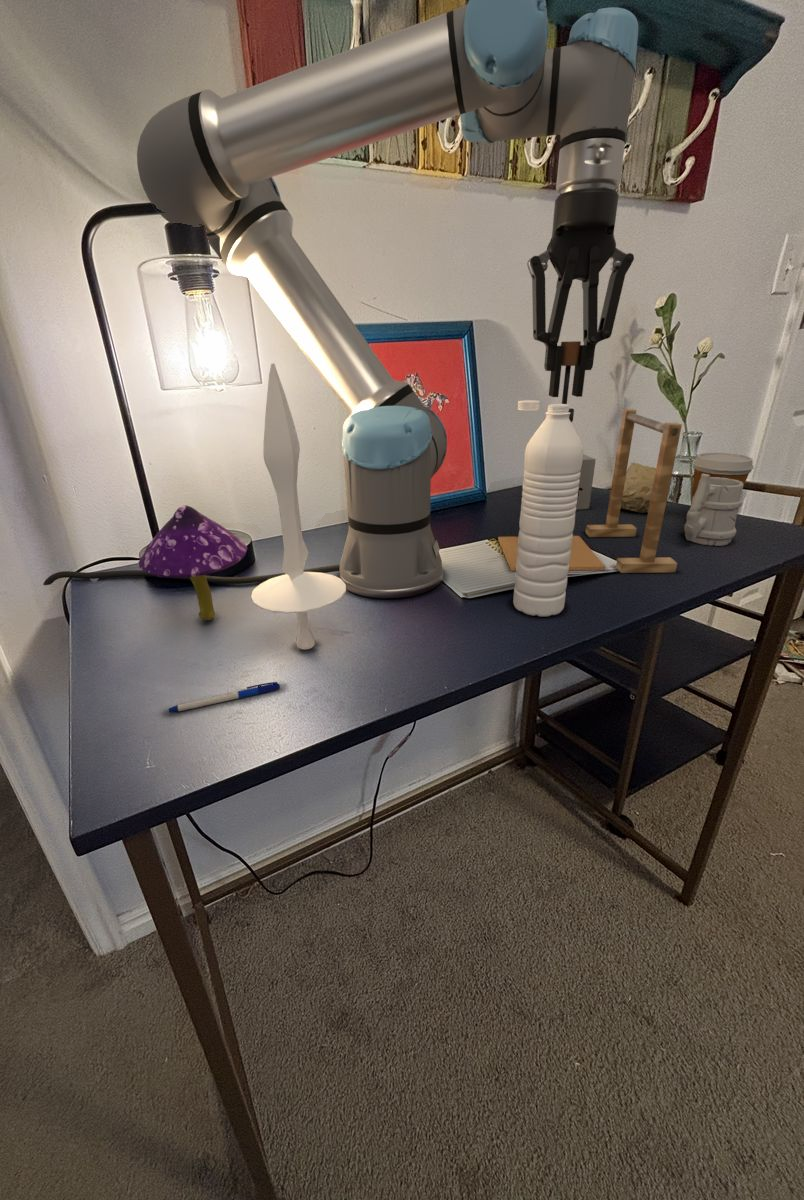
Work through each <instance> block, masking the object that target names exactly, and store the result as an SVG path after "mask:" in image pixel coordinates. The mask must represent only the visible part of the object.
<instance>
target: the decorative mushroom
mask: <svg viewBox="0 0 804 1200" xmlns="http://www.w3.org/2000/svg"><path fill="white" fill-rule="evenodd" d="M247 550H248V546H247V545H246V543H245V542H244V541H243V540H241V539H240V538H239V537H237V536H236V535H235V534H234V533H233V532H231V531H229V530H228V529H227V528H225V527H223V526H222V525H221V524H219V523H218V522H216V521H214V520H213V519H211V518H209V517H208V516H206V515H204V514H202V513H201V512H199V511H198V510H197V509H195V507H193V506H190V505H181V506H179V507H178V508H177V509H176V511H174V513H173V515H172V517H171V518H170V519H169V520H168V521H167V522H166V523H165V524H164V525H163V526H162V528H161V529H160V530H159V531H158V532H157V533H156V534H155V536H154V537H152V539H151V541H150V542H149V543H148V545H147V546H146V548H145V550H144V552H143V554H142V555H141V557H140V558H139V561H138V567H139V568H140V569H141V570H144V571H145V572H147V573H148V574H150V575H154V576H158V577H157V578H163V577H165V578H164V579H173V578H184V577H190V579H191V580H190V581H191V583H192V585H193V586H194V590H195V593H196V597H197V603H198V608H199V612H198V617H199V619H201V620H202V621H211V620H213V619H214V617H215V616H216V615H215V614H216V612H215V608H214V603H213V597H212V592H211V588H210V585H209V582H207V579H206V577H205V575H206V576H207V575H211V574H214V573H217V572H221V571H223V570H226V569H229V568H230V567H233V566H234V565H236V564H238V563H239V562H241V561H242V560H243V559H244V558H245V556H246V554H247Z"/></svg>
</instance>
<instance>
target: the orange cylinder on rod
mask: <svg viewBox="0 0 804 1200" xmlns="http://www.w3.org/2000/svg"><path fill="white" fill-rule="evenodd" d="M581 343H582V342H581V341H579V340H577V341H572V340H571V341H561V342H560V346H564V347H563V356H562V366H561V367H565V369H564V378H563V387H562V399H561V404H567V405H568V397H569V396H568V395H569V388H570V378H571V369H572V367H573V366H574V367H575V366H577V365H578V362H579V354H580V345H582V344H581ZM568 412H570V413H571V414H569V420H570V422H571V423H573V422H574V416H575V409H574V408H569V411H568Z"/></svg>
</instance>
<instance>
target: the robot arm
mask: <svg viewBox="0 0 804 1200" xmlns="http://www.w3.org/2000/svg"><path fill="white" fill-rule="evenodd" d="M549 29H550V27H549V19H548V7H547V1H546V0H468V2H467V4H465V5H463V6H460V7H458V8H455V9H453V10H450V11H447V12H445V13H441V14H440V15H436V16H434V17H431V18H428V19H427V20H424V21H421V22H418V23H415V24H414V25H411V26H407V27H405V28H402V29H400V30H397V31H394V32H392V33H389V34H387V35H384V36H382V37H379V38H376V39H374V40H371V41H368V42H365V43H363V44H360V45H357V46H355V47H353V48H350V49H348V50H345V51H342V52H339V53H337V54H334V55H331V56H329V57H326V58H324V59H321V60H319V61H316V62H313V63H310V64H308V65H305V66H303V67H302V66H301V67H300V68H297V69H295V70H291V71H289V72H286V73H284V74H281V75H279V76H276V77H273V78H270V79H268V80H265V81H263V82H260V83H257V84H255V85H253V86H250V87H247V88H244V89H242V90H239V91H236V92H234V93H230V94H228V95H226V96H223V97H221V96H220V95H218V94H217V93H216V92H214V91H213V90H212V89H209V88H207V89H204V90H201V91H199V92H196V93H194V94H191V95H188V96H185V97H183V98H181V99H179V100H177V101H175V102H172V103H170V104H168V105H166V106H165V107H163V108H161V109H160V110H159V111H157V112H156V114H154V115H152V116H151V118H150V119H149V120H148V121H147V123H146V124H145V126H144V128H143V130H142V132H141V134H140V136H139V140H138V144H137V150H136V163H137V164H136V165H137V172H138V177H139V180H140V182H141V186H142V188H143V191H144V193H145V195H146V197H147V198H148V200H149V202H150V203H151V205H152V204H154V205H155V206H156V208H157V209H159V210H161V211H162V212H165V213H161V214H160V213H159V215H160V216H161V217H162V218H163V219H164V220H166V221H167V222H168V223H170V224H171V223H182V224H187V225H192V226H193V227H200V226H201V225H199V224H202V225H204V226H205V228H206V231H207V236H208V240H209V243H208V244H209V246H210V247H211V248H212V250H213V251H214V252H215V254H216V255H217V256H218V258H219V260H221V259H222V260H221V262H222V263H223V264H224V266H225V267H226V268H227V270H228V271H229V272H230V273H231V274H232V275H235V276H239V277H240V276H241V277H242V276H243V277H245V278H247V279H248V280H249V282H250V283H251V285H252V286H253V287H254V288H255V290H256V291H257V292H258V293H259V296H260V297H261V298H262V300H264V302H265V303H266V305H267V306H268V307H269V309H270V310H271V311H272V313H273V314H274V316H275V317H276V318H277V320H278V321H279V322H280V323H281V326H282V327H284V329H285V330H286V332H287V333H288V334H289V336H290V337H291V339H292V340H294V343H295V344H296V345H297V347H298V348H299V349H300V350H301V352H302V353H303V354H304V356H305V357H306V359H307V360H308V361H309V363H310V364H311V365H312V367H313V368H314V370H315V371H316V372H317V373H318V375H319V376H320V378H321V379H322V380H323V381H324V383H325V384H326V386H327V387H328V389H329V390H330V391H331V392H332V394H333V395H334V397H335V398H336V399H337V401H338V402H339V403H340V405H341V406H342V408H343V409H344V411H345V412H346V413H347V414H348V417H347V418H346V419H345V420H344V422H343V425H342V438H341V450H342V453H343V466H344V467H343V469H344V479H345V490H346V491H345V495H346V506H347V519H348V520H347V522H348V530H347V535H346V539H345V543H344V547H343V551H342V555H341V557H340V558H341V559H340V562H339V564H332V565H325V566H319V567H313V568H307V569H304V572H318V573H325V574H329V573H334V572H338V574H339V578H340V579H341V580H342V581H343V582H344V583H345V584H346V591H348V592H351V593H353V594H356V595H359V596H362V597H367V598H374V599H401V598H409V597H414V596H418V595H421V594H424V593H427V592H429V591H431V590H433V589H435V588H437V586H439V585H440V584H441V583H442V581H443V577H444V576H443V574H444V568H443V561H442V557H441V554H440V550H441V549H440V546H439V543H438V540H437V539H436V540H435V537H434V533H433V530H432V527H431V492H432V491H431V485H432V484H431V481H432V478H433V477H434V475H436V474H437V472H438V471H439V470H440V469H441V467H442V465H443V463H444V461H445V458H446V455H447V450H448V436H447V431H446V428H445V425H444V423H443V422H442V420H441V418H440V417H439V416H438V415H437V413H435V412H434V411H433V410H431V408H429V407H427V406H426V405H424V404H423V401H422V400H421V399H420V398H419V396H418V395H417V394H416V392H415V391H414V389H413V388H412V387H411V385H410V384H409V383H408V382H407V381H401V380H396V379H394V378H393V377H392V375H391V374H390V373H389V372H388V370H387V368H386V367H385V365H384V364H383V363H382V362H381V360H380V359H379V357H378V356H377V354H376V353H375V352H374V350H373V348H372V347H371V346H370V344H369V343H368V342H367V340H366V339H365V337H364V336H363V334H362V333H361V332H360V330H359V329H358V327H357V325H356V324H355V323H354V322H353V320H352V319H351V317H350V315H348V313H347V312H346V310H345V309H344V307H343V306H342V305H341V303H340V302H339V300H338V299H337V297H336V296H335V294H334V293H333V292H332V291H331V289H330V287H329V286H328V284H327V282H325V280H324V279H323V278H322V276H321V274H320V273H319V272H318V271H317V269H316V268H315V266H314V265H313V263H312V262H311V260H310V259H309V258H308V256H307V255H306V253H305V252H304V250H303V249H302V248H301V246H300V245H299V243H298V242H297V240H296V239H295V238H294V236H293V226H294V219H293V216H292V214H291V213H290V212H289V210H288V208H287V207H286V206H285V204H284V203H283V201H282V198H281V194H280V191H279V189H278V185H277V184H276V181H275V179H274V177H276V176H277V177H278V176H280V175H282V174H285V173H288V172H292V171H295V170H297V169H300V168H303V167H305V166H309V165H312V164H316V163H318V162H321V161H324V160H327V159H330V158H334V157H337V156H339V155H342V154H345V153H348V152H351V151H354V150H357V149H361V148H364V147H366V146H369V145H373V144H375V143H378V142H382V141H384V140H388V139H391V138H393V137H396V136H399V135H403V134H405V133H408V132H411V131H415V130H416V129H417V130H418V129H421V128H424V127H427V126H429V125H432V124H436V123H438V122H441V121H444V120H448V119H450V118H453V117H456V116H460V117H459V118H460V127H461V128H460V129H461V134H462V137H463V138H464V140H465V141H466V142H469V143H487V144H494V143H496V142H503V141H513V140H521V139H522V140H523V139H531V138H541V137H552V136H558V135H559V136H560V143H559V154H558V164H557V173H556V185H555V191H556V192H557V193H558V194H559V195H558V196H557V197H556V199H555V200H554V209H553V220H552V232H551V238H550V241H549V242H548V245H547V246H546V250H545V251H543V252H542V253H539V254H538V255H533V256H532V257H531V258H529V259H528V260H527V263H526V265H527V266H526V267H527V268H528V271H529V272H528V273H529V274H530V278H531V287H532V288H531V289H532V291H531V293H532V294H531V295H532V299H531V300H532V337H533V340H535V341H538V342H540V343H543V345H545V354H544V364H543V366H544V367H543V368H544V371H545V372H550V375H549V376H550V378H549V388H548V396H549V397H551V398H559V395H560V394H559V393H560V386H561V385H560V384H561V376H562V375H561V374H562V367H563V366H562V356H563V347H564V346H561V345H558V343H559V342H560V341H559V340H560V336H561V331H562V327H563V322H564V318H565V313H566V308H567V303H568V300H569V295H570V290H571V287H572V286H573V281H574V280H578V281H580V282H581V288H582V289H581V290H582V338H583V339H582V342H583V344H581V345H580V354H579V362H578V365H577V366H574V370H573V372H574V373H573V380H572V389H571V396H574V397H576V398H580V397H581V398H582V397H583V394H584V385H585V376H586V371H592V369H593V367H594V359H595V353H596V352H595V351H596V346H597V344H598V343H600V342H602V341H605V340H607V339H610V338H611V336H612V335H613V329H614V325H615V321H616V317H617V313H618V307H619V304H620V299H621V294H622V291H623V288H624V287H623V286H624V282H625V279H626V275H627V273H628V270H629V269H630V268H631V265H632V264H633V262H634V261H635V260H634V259H635V256H634V254H633V253H631V252H628V253H626V252H624V251H622V250H621V249H618V248H617V242H616V239H615V234H614V233H615V227H616V220H617V212H618V203H619V195H620V194H619V193H618V191H617V190H615V189H617V188H618V187H619V185H620V184H621V179H622V172H623V171H622V170H623V163H624V157H625V155H624V154H625V146H626V138H627V132H628V127H629V126H628V125H629V124H628V123H629V119H630V112H631V111H630V110H631V103H632V97H633V90H634V83H635V82H634V81H635V77H636V76H635V75H636V71H637V65H636V62H637V61H636V60H637V50H638V40H639V39H638V38H639V23H638V20H637V17H636V15H635V14H634V13H632V12H631V11H630V10H628V9H626V8H623V7H616V6H615V7H610V6H609V7H603V8H599V9H597V10H596V11H594V12H588V13H586V14H584V15H582V16H580V17H579V18H578V19H577V20H576V21H575V22H574V23H573V25H572V26H571V29H570V32H569V36H568V37H569V38H568V39H567V42H566V45H563V46H559V47H553V48H549V49H548V40H549V37H550V30H549ZM609 260H610V265H609V266H610V267H609V268H610V270H611V272H610V275H609V279H608V283H607V288H606V292H605V297H604V301H603V306H602V309H601V313H600V319H599V323H598V315H599V314H598V313H599V312H598V303H599V302H598V299H599V298H598V296H599V291H598V290H599V284H600V272H601V271H602V270H603V268H604V267H605V266H606V264H607V263H608V261H609ZM549 261H550V263H551V265H552V268H553V269H554V271H555V273H556V274H557V281H556V286H555V294H554V299H553V303H552V308H551V313H550V317H549V323H548V327H547V325H546V323H547V322H546V319H547V318H546V316H547V315H546V314H547V313H546V312H547V311H546V310H547V309H546V275H545V274H546V273H545V272H546V271H547V270H548V267H549V266H548V265H549V264H548V263H549ZM546 330H547V331H546ZM281 575H285V573H283V572H279V573H272V574H265V575H264V574H263V575H255V576H254V575H253V576H235V577H234V576H233V577H232V576H214V575H207V574H206V575H205V577H206V579H207V582H208V583H212V584H213V583H214V584H224V585H243V584H258V583H263V582H265V581H267V580H269V579H271V578H274V577H278V576H281ZM127 577H129V578H130V577H132V578H133V577H149V578H159V577H158V576H154V575H150V574H148V573H147V572H145V571H144V570H142V569H141V570H140V569H138V570H137V569H132V570H130V569H129V570H127V569H126V570H111V571H109V570H108V571H97V572H96V571H95V572H85V571H84V572H83V571H72V570H63V571H58V572H55V573H53V574H51V575H49V576H48V577H47V578H46V579H45V580H44V582H43V584H42V585H43V586H50V585H52V584H53V583H54V582H56V581H57V580H59V579H64V578H65V579H68V578H69V579H70V578H71V579H80V580H81V579H83V580H95V579H111V578H127ZM162 578H163V579H166V578H165V577H162ZM172 579H175V580H184V581H191V579H190V577H184V578H172Z"/></svg>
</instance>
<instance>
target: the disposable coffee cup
mask: <svg viewBox="0 0 804 1200" xmlns="http://www.w3.org/2000/svg"><path fill="white" fill-rule="evenodd" d="M753 460H754V459H753V457H750V456H747V455H743V454H737V453H728V452H704V453H703V452H702V453H698V454H697V455H696V457H695V459H694V461H692V468H693V475H692V476H693V477H692V487H691V488H692V489H691V500H690V501H691V502H692V498H693V496H694V495H695V493H696V490H697V488H698V484H699V481H700V479H701V475H702V474H708V475H710V477H720V478H728V479H733V480H738V481H741V482H742V483H743V488H744V487H745V484H746V482H747V479H748V478H749V475H750V473H752V470H754V468H755V466H754V465H753V464H754V463H753ZM691 505H692V503H690V506H691Z"/></svg>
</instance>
